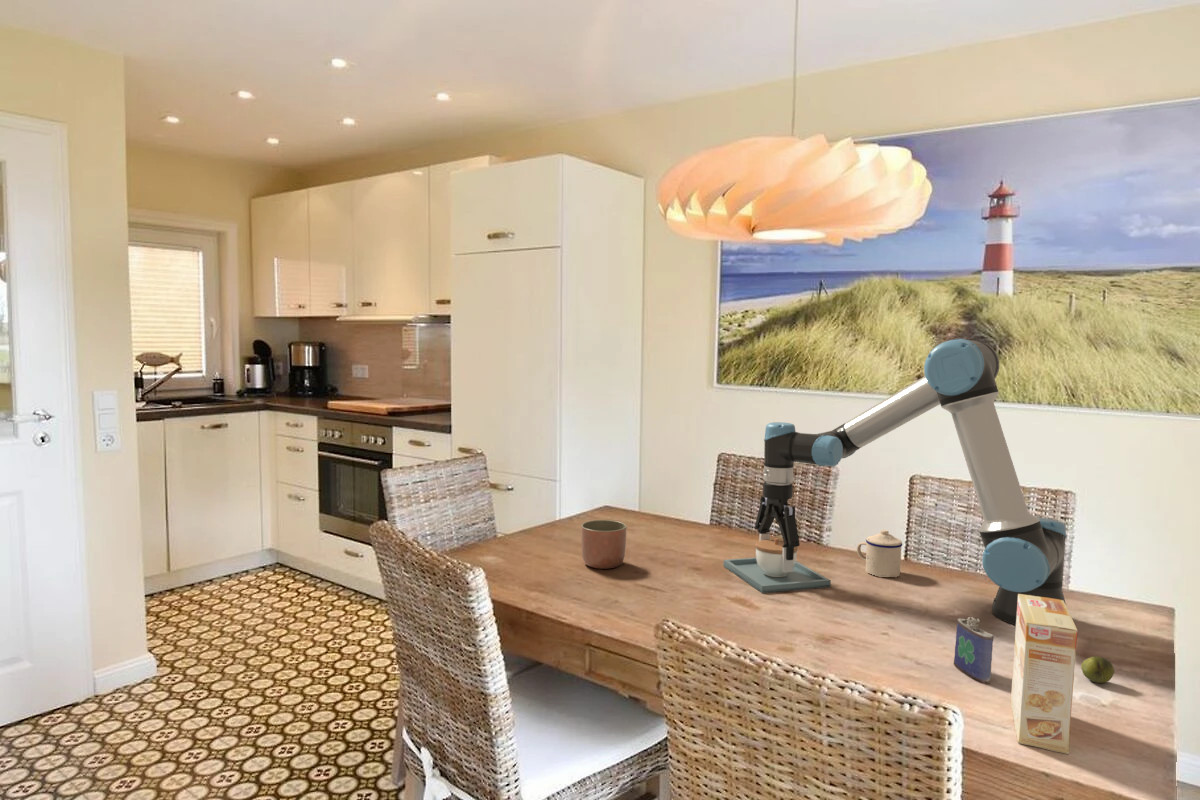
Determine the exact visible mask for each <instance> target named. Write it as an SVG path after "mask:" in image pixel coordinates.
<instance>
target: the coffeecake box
mask: <svg viewBox="0 0 1200 800" xmlns="http://www.w3.org/2000/svg"><path fill="white" fill-rule="evenodd" d="M1065 603H1066V602H1065ZM1065 603H1064V601H1063V600H1059V599H1053V598H1046V597H1038V596H1031V595H1024V594H1018V601H1017V617H1016V625H1015V630H1014V631H1015V633H1014V634H1015V635H1014V648H1013V665H1012V678H1011V679H1012V681H1011V690H1010V691H1011V692H1010V694H1011V695H1010V706H1011V713H1012V718H1013V722H1014V728H1015V729H1014V730H1015V734H1016V739H1017V743H1018V744H1021V745H1025V746H1029V747H1030V746H1031V747H1034V748H1039V749H1042V750H1043V749H1044V750H1048V751H1051V752H1055V753H1061V754H1066V755H1069V754H1070V751H1069V750H1070V749H1069V747H1070V734H1071V733H1070V731H1071V717H1072V709H1073V708H1072V706H1073V693H1074V680H1075V667H1076V666H1075V665H1076V652H1077V643H1078V642H1077V641H1078V628H1077V626H1076V624H1075V622H1074V620H1073V618H1072V615H1071V613H1070V611H1069V609H1068V607H1067V604H1066V605H1065Z"/></svg>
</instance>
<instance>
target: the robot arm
mask: <svg viewBox="0 0 1200 800" xmlns="http://www.w3.org/2000/svg"><path fill="white" fill-rule="evenodd" d="M923 371H924V372H923V373H924V376H923V377H921V378H919V379H916V381H914V382H913V383H910V384H908V385H907V386H905V387H904V388H902V389H900V390H899V391H897V392H895V393H893V394H892V395H890V396H889V397H887V398H885V399H883V400H881V401H880V402H878V403H876V404H874V405H873V406H871V407H870V408H868V409H866V410H865V411H863V412H861V413H860V414H858V415H856V416H854V417H853V418H851V419H849V420H848V421H846V422H844V423H843V424H841V425H839V426H837V427H836V428H834V429H832V430H829V431H825V432H819V433H806V432H805V433H804V432H798V431H796V427H795V424H793V423H791V422H780V421H779V422H778V421H777V422H768V423H767V424H766V425H765V431H764V432H765V433H764V439H763V441H764V447H763V448H764V456H763V457H764V459H763V460H764V462H763V471H762V473H763V481H764V482H763V483H762V496H760V501H759V503H760V504H759V508H758V513H757V515H756V520H755V524H754V528H755V530H757V532H758V534H759V538H758V539H759V540H758V541H761V540H771V538H770V537H771V534H770V532H771V530H770V529H771V526H772V525H773V523H774V520H775V521H776V523H778V526H779V530H780V534H781V537H782V541H784V545H783V546H782V547H783V550H782V572H793V558H794V547H800V538H799V532H798V527H797V520H796V507H795V506H789V502H788V501H789V500H790V499H792V498H793V495H794V494H793V492H794V491H793V489H794V487H793V486H794V484H792V483H793V482H794V468H795V467H794V463H803V464H807V465H809V464H810V465H816V466H820V467H836V466H838V465H839V462H841V460H842V459H846V458H848V457H850V456H852V455H854V454H855V453H856V451H858V450H860V449H861V448H863V447H865V446H867V445H868V444H871V443H872V442H875V440H877V439H878V440H879V438H881V437H883V436H885V435H887V434H888V433H890V432H892V431H894V430H896V429H898V428H900V427H901V426H904V425H905V424H907V423H908V422H910V421H912V420H914V419H916V418H917V417H919V416H921V415H923V414H925V413H927V412H928V411H930V410H932V409H934V408H936V407H938V406H941V408H942V409H944V410H946V411H947V412H949V413H950V414H951V417H952V420H953V424H954V427H955V429H956V433H957V436H958V440H959V443H960V446H961V450H962V453H963V456H964V459H965V462H966V466H967V469H968V473H969V475H970V480H971V482H972V485H973V489H974V492H975V495H976V499H977V501H978V505H979V508H980V512H981V515H982V517H983V518H982V519H983V522H982V523H981V526H979V528H978V532H979V535H980V537H981V540H982V543H983V544H982V545H983V547H984V550H983V552H982V560H981V561H982V567H983V569H984V572H985V574H986V575H987V577H988V578H989V580H991V581H992V583H994V584H995V585H997V587H998V589H997V593H996V596H995V597H994V599H993V600H992V605H991V608H992V609H991V613H992V614H993V615H994V616H995V618H998V619H1000V620H1001V621H1004V622H1006V623H1007V624H1008V623H1009V624H1012V625H1014V626H1016V617H1017V601H1018V594H1024V595H1031V596H1038V597H1046V598H1053V599H1059V600H1063V601H1064V603H1065V605H1066V606H1067V604H1066V599H1065V596H1064V595H1065V594H1064V591H1063V580H1064V566H1065V551H1066V539H1067V538H1068V535H1067V531H1066V529H1067V527H1066V525H1065V523H1064V522H1062V521H1059V520H1056V519H1050V518H1045V517H1039V516H1035V515H1033V514H1032V513H1030V512H1029V510H1028V506H1027V504H1026V501H1025V497H1024V494H1023V491H1022V488H1021V484H1020V481H1019V478H1018V475H1017V472H1016V470H1015V465H1014V463H1013V459H1012V456H1011V454H1010V450H1009V447H1008V445H1007V441H1006V438H1005V434H1004V432H1003V428H1002V424H1001V422H1000V419H999V415H998V413H997V409H996V406H995V400H996V399H997V397H998V395H999V393H1000V392H999V389H998V387H997V386H998V385H997V382H996V378H997V376H998V374H999V371H1000V360H999V356H998V354H997V351H996V350H995V349H994V348H993V347H992V346H991V345H989V344H988V343H986V342H983V341H982V340H977V339H964V338H954V339H950V340H947V341H944V342H942V343H939V344H937V345H936V346H935V347H933V348H932V349H931V350H930V352H929V353H928V355H927V357H926V358H925V361H924V365H923Z"/></svg>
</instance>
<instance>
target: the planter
mask: <svg viewBox="0 0 1200 800" xmlns="http://www.w3.org/2000/svg"><path fill="white" fill-rule="evenodd" d="M580 533H581V534H580V538H581V539H580V540H581V544H580V545H581V555H582V561H583V562H584V563H585V565H587V566H588V567H590V568H593V569H600V570H602V569H603V570H604V569H605V570H607V569H613V568H614V569H615V568H617V567H619V566H621V565H622V563H623V562H624V559H625V557H626V555H625V554H626V545H627V544H626V543H627V542H626V541H627V524H625V523H624V522H622V521H618V520H610V519H597V520H596V519H595V520H588V521H585V522H582V524H580Z"/></svg>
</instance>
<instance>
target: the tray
mask: <svg viewBox="0 0 1200 800" xmlns="http://www.w3.org/2000/svg"><path fill="white" fill-rule="evenodd" d="M722 565H723V567H724V568H725V569H727V571H729V572H731V573H732V574H734V575H736V576H737V577H738V578H739V579H741V580H742V581H744V582H745V583H746V584H747V585H749V586H751V587H752V588H754V589H755V590H757V591H758V592H759V593H761V594H767V593H770V594H771V593H779V592H780V593H781V592H789V591H791V592H794V591H802V590H803V589H804V590H812V589H813V590H815V589H814V588H816V589H825V587H827V588H831V579H830V578H827V577H825V576H824V575H822V574H820V573H819V572H817V571H815V570H813V569H811V568H810V567H808V566H806V565H804V564H802V562H801V563H800V562H799V561H797V560H796V562H795V566H794V568H793V572H789V573H788V574H787V576H785V577H771V576H767V575H765V574H764V573H763V571H762V570H761V569H760V568H759V566H758V564H757V561H756V556H755V557H744V558H731V559H730V558H729V559H723V564H722Z"/></svg>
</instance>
